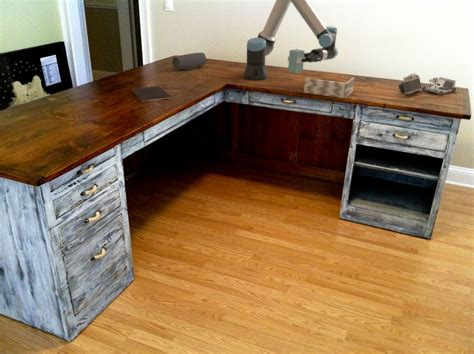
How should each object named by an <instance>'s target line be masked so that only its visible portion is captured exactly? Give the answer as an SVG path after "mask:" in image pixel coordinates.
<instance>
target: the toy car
mask: <svg viewBox="0 0 474 354" xmlns="http://www.w3.org/2000/svg"><path fill="white" fill-rule="evenodd" d="M456 81H457V80H455V79H451V78H447V77H443V76H438V77H433V78H430V79H429V80H428V82H429V86H428V87H427V86H425V85H423V86H422V89H421V91H422V92H425V91H427V92H432V93H435V94H438V96H443V94H447V93H450V92H451V93H455V92H456V91H457V88H456V87H455V86H456ZM431 83H432V84H434V85H432V84H431ZM431 85H432V86H431Z"/></svg>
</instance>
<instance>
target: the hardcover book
mask: <svg viewBox="0 0 474 354" xmlns="http://www.w3.org/2000/svg"><path fill="white" fill-rule="evenodd" d="M131 90H132V91H133V92H134V93H135V94H136V95H137V96H138V97H139V99H140V100H141V101H144V100H157V99H165V98H170V99H171V97H172V96H171V95H170V94H169V93H167V92H166V91H165V90H164V89H163V88H162V87H160V86H159V85H156V86H147V87H138V88H132V89H131Z"/></svg>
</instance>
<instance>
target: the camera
mask: <svg viewBox="0 0 474 354" xmlns="http://www.w3.org/2000/svg"><path fill="white" fill-rule="evenodd" d="M422 88H423V86H422V83H421V78H420V76H419V75H418V74H417V73H415V72H414V73H410V74H409V75H407V76H404V77H403V81H402V82H399V84H398V89H399V91H401V92H405V93H404V94H405V95H411V94H412V93H414V92H419V91H422Z"/></svg>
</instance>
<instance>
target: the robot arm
mask: <svg viewBox="0 0 474 354" xmlns="http://www.w3.org/2000/svg"><path fill="white" fill-rule="evenodd" d="M291 4H292V5H293V7H294V8H295V9H296V10H297V12H298V13H299V14H300V16H301V18H302V19H303V20H304V22H305V23H306V24H307V26H308V28H309V29H310V30H311V31H312V33H313V34H314V36H315V37H316V39H317V40H318V44H319V45H320V48H319V47H318V48H314V49H312V50H311V51H310V52H304V57H302V58H297V64H298V63H303V64H304V63H317V62H322V61H327V60H333V59H335V58H336V57H337V56H338V54H339V53H338V52H339V51H338V48H337V47H336V40H337V34H338V28H337V27H336V26H331V25H329V26H326V25H325V24H324V22H323V21H322V19H321V18H320V16H319V15H318V14H317V13H316V11H315V10H314V8H313V7H312V6H311V3H310V2H309V1H308V0H276V1H275V3H274V5H273V7H272V9H271V11H270V13H269V16H268V18H267V21H266V22H265V24H264V27H263V30H261V31H260V32H258V35H257V37H253V38H252V37H251V38H249V39H248V40H247V41H246V66H245V70H244V73H243V78H244V79H246V80H250V81H251V80H252V81H257V80H258V81H259V80H265V79H268V71H267V67H266V57H267V56H268V55H270V54H271V53H272V52H273V50H274V45H275V43H276V41H277V39H276V35H277V33H278V31H279V29H280V26H281V24H282V22H283V20H284V18H285V15H286V13H287V11H288V9H289V7H290V5H291ZM287 62H289V55H288V56H287Z"/></svg>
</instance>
